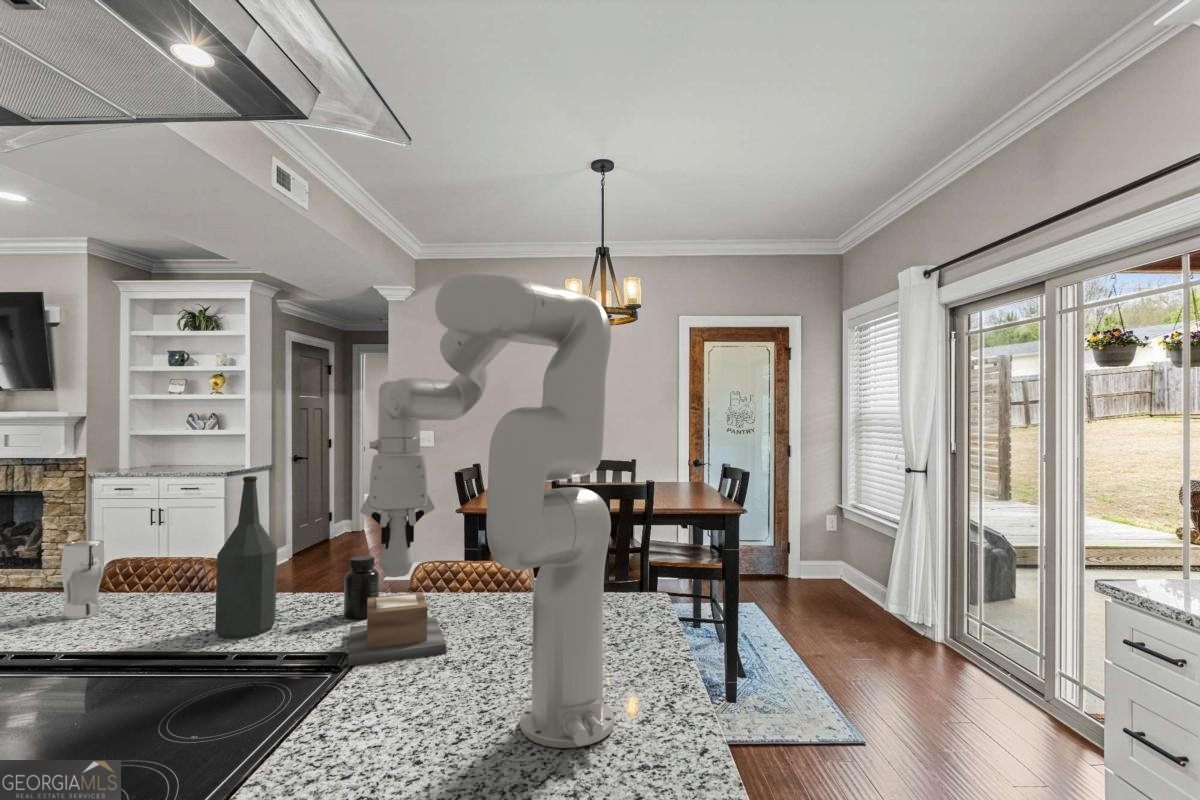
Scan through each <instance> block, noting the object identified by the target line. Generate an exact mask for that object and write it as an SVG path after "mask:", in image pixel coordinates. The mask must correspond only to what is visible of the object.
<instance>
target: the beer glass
mask: <svg viewBox="0 0 1200 800" xmlns="http://www.w3.org/2000/svg"><path fill="white" fill-rule="evenodd" d="M62 546H63V547H62V551H61V552H62V553H61V562H60V573H61V575H60V576H61V580H62V585H63V586H62V587H63V592H64V607H63V610H62V614H61V618H62V619H63V620H79V619H84V618H85V619H86V618H90V617H93V616H96V615H98V614H100V612H101V608H100V604H99V591H100V590H99V589H100V586H101V583H102V578H103V574H104V568H105V546H104V540H100V539H99V540H97V539H95V540H93V539H92V540H80V541H74V542H73V541H72V542H68V543H67V542H66V543H65V544H63V545H62Z"/></svg>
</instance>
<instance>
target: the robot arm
mask: <svg viewBox="0 0 1200 800" xmlns="http://www.w3.org/2000/svg"><path fill="white" fill-rule="evenodd" d="M434 310H435V311H434V312H435V315H436V318H437V320H438V322H439V323H440V324H441V325H442V326H443V327H444V328H446V329H447V330H446V331H445V333H443V335H442V336H441V339H440V341H439V350H440V351H439V352H440V354H441V356H442V359H444V361H445V362H446V364H447V365H448V366H449V367H450V368H451V369H452V370H453V371H455V372H456V373H458V375H457V376H455V377H454V378H453V379H440V378H424V377H423V378H422V377H420V378H419V377H403V378H400V379H397V380H389V381H384V382H382V383H381V384H380V385H379V388H378V412H377V413H378V415H377V416H378V417H377V418H378V420H377V424H378V425H377V437H378V438H377V439H376V440H373V441H369V449H370V450H372V449H373V450H376V451H377V454H374V455H373V457H372V461H371V466H370V467H371V468H370V474H369V475H370V476H369V489H368V495H367V497H366V498H365V500H364V502H363V504H362V505H361V508H360V510H359V511H360V514H363V515H365V516H367V517H369V518H371V519H373V520H374V521H375V522H376V523H377V524H379V526H380V527H381V528H380V530H381V531H380V532H381V533H380V537H381V538H380V540H381V541H380V542H381V543H380V544H381V545H384V544H385V549H388V546H389V540H390V527H389V517H388V513H389V510H407V509H408V516H407V526H406V541H407V547H408V548H410V542H411V543H414V542H415V525H416V524H417V522H419V521H420V519H421V518H422V517H423V516H425V515H427V514H429V513H431V512H433V511H434V510H435V509H436V508H435V505H434V503H433V501H432V500H431V497H430V495H429V493H428V472H427V464H426V463H427V462H426V456H425V454H421V427H422V425H421V421H455V420H458V419H460V418H463V416H466V415H467V414H468V413H469V412H470V411H471V410H472V409H473V408H474V407H475V406H476V405H477V404H478V403H479V402H480V400H481V399H482V398H483V396H484V394H485V390H486V387H487V382H488V371H487V370H488V369H487V366H488V365H489V364H491V362H492V361H493V360H494V359H495V357H497V355H498V354H499V353H500V352H501V351H502V350H503V349H504V348H505V347H506V346H507V345H508V344H509V343H510V342H513V343H522V344H529V345H537V346H538V345H539V346H544V347H545V346H546V347H553V348H556V349H557V350H556V351H555V353H554V354H553V355H552V356H551V358H550V361H549V362H548V365H547V366H546V369H545V371H544V376H543V381H542V383H543V384H542V400H541V406H523V407H518V408H515V409H512V410H510V411H508V412H506V413H505V414H504V415H503V416H502V417H501V418H500V420H498V422H497V424H496V426H495V427H494V430H493V433H492V436H491V439H490V444H489V454H488V474H487V493H486V495H487V497H486V498H487V499H486V523H485V524H486V538H487V545H488V548H489V552H490V553H491V555H492V557H493V559H494V560H495V561H496V562H497V564H498V565H500V566H501V567H502V568H504V569H507V570H511V571H523V570H530V569H536V568H539V570H538V572H537V576H536V578H535V581H534V586H533V594H532V595H533V596H532V640H531V641H532V642H531V643H532V652H531V653H532V654H531V655H532V660H531V661H532V662H531V663H532V664H531V666H532V667H531V668H532V669H531V670H532V671H531V672H532V673H531V676H532V677H531V683H532V684H531V685H532V686H531V704H530V705H528V706H527V707H526V708H525V709H524V710H523V711H522V712H521V714H520V719H519V720H520V721H519V722H520V724H519V726H520V730H521V733H522V734H523V735H524V736H525V737H526V738H527V739H529V740H530V741H532V742H534V743H536V744H538V745H541V746H545V747H549V748H550V747H551V748H556V749H557V748H558V749H559V748H560V749H569V748H570V749H573V748H579V747H580V748H582V747H585V746H589V745H592V744H596V743H597V742H600V741H602V740H603V739H605V738H606V737H608V735H610V734H611V733H612V731H613V730H614V727H615V715H614V714H615V713H614V711H613V710H612V708H611V707H609V706H608V704H606V703H604V698H603V697H604V696H603V695H604V583H605V581H604V580H605V566H606V559H607V554H608V549H609V544H610V537H611V530H612V521H611V515H610V511H609V508H608V506H607V504H606V502H605V500H603V498H602V497H601V496H600V495H599V494H598V493H596V492H594V491H593V490H590V489H587V488H584V487H577V486H576V487H575V486H573V487H572V486H571V487H558V488H549V489H546V482H547V481H557V480H568V479H569V480H570V479H576V478H580V477H581V478H582V477H585V476H587V475H588V476H589V475H590V474H592V473H593V472H594V471H596V470H597V468H598V467H599V466H600V463H601V460H602V457H603V452H604V451H603V450H604V438H605V437H604V434H605V433H604V430H605V411H606V410H605V408H606V377H607V367H608V363H609V357H610V352H611V351H610V350H611V341H612V328H611V322H610V319H609V317H608V313H607V312H606V311H605V309H604V307H603V306H602V305H601V304H600V303H599V302H598V301H596V300H595V299H593V298H591V297H590V296H588V295H586V294H583V293H581V292H578V291H574V290H571V289H568V288H563V287H560V286H556V285H551V284H548V283H547V284H546V283H542V282H541V283H540V282H537V281H532V280H528V279H523V278H520V277H519V278H517V277H514V276H509V275H499V274H480V273H468V272H467V273H466V272H459V273H457V274H454V275H452V276H451V277H449V278H447V279H446V280H445V281H444V283H442V285H441V286H440V288H439V290H438V292H437V294H436V297H435V303H434ZM378 511H380V513H379V512H378Z"/></svg>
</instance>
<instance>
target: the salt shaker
mask: <svg viewBox="0 0 1200 800" xmlns="http://www.w3.org/2000/svg"><path fill="white" fill-rule="evenodd" d="M407 521H408V509H407V510H389V513H388V522H389V527H390V540H389V546H388V549H385V544H383V547H382V552H381V557H380V561H379V562H380V564H379V565H380V567H381V568H382V571H383V573H384V575H385V577H386V578H387V577H388V578H399V577H406V576H407V575H408V574H409V573H410V571H411V569H412V567H413V564H414V554H413V547H412V542H410V548H408V547H407V541H406V526H407Z"/></svg>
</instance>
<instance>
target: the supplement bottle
mask: <svg viewBox="0 0 1200 800" xmlns="http://www.w3.org/2000/svg"><path fill="white" fill-rule="evenodd" d="M375 566H376V563H375V556H372V555H358V556H355V557H350V559H349V569H350V570H349V571H347V573H346V574H345V575H344V587H343V588H344V589H343V591H344V592H343V594H344V596H343V616H344V617H345V619H346V620H349V621H361V620H367V601H368V598H370V597H380V573H379V570H377V569H376V568H374V567H375Z"/></svg>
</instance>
